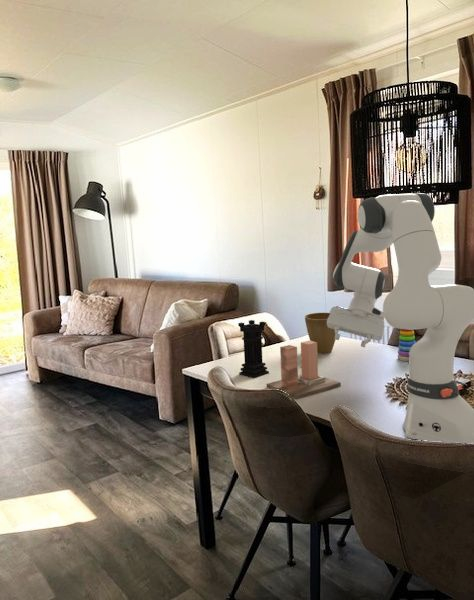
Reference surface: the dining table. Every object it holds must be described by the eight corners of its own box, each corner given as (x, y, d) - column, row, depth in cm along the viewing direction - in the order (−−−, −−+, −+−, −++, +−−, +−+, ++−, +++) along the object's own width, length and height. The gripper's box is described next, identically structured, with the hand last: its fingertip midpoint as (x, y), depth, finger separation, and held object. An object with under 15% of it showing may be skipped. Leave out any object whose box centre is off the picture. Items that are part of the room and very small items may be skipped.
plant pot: (299, 350, 231) (298, 314, 229) (329, 346, 236) (328, 311, 233) (315, 358, 217) (314, 320, 215) (346, 353, 222) (346, 316, 220)
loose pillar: (318, 381, 183) (317, 342, 180) (309, 383, 180) (308, 344, 178) (310, 378, 186) (309, 340, 184) (301, 381, 184) (300, 342, 182)
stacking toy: (415, 356, 212) (415, 311, 209) (420, 361, 204) (420, 314, 202) (395, 356, 213) (395, 311, 210) (399, 362, 205) (399, 315, 202)
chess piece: (239, 374, 199) (236, 323, 196) (253, 369, 205) (251, 319, 202) (254, 378, 194) (252, 325, 191) (268, 373, 199) (266, 321, 196)
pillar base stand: (340, 385, 180) (339, 342, 178) (296, 398, 170) (294, 353, 167) (309, 375, 194) (308, 335, 191) (266, 387, 183) (264, 344, 181)
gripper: (332, 300, 192) (321, 330, 186) (388, 313, 186) (378, 345, 179) (332, 309, 197) (321, 339, 191) (386, 323, 191) (377, 354, 184)
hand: (349, 342), depth 185 cm, fingers open, 8 cm apart
